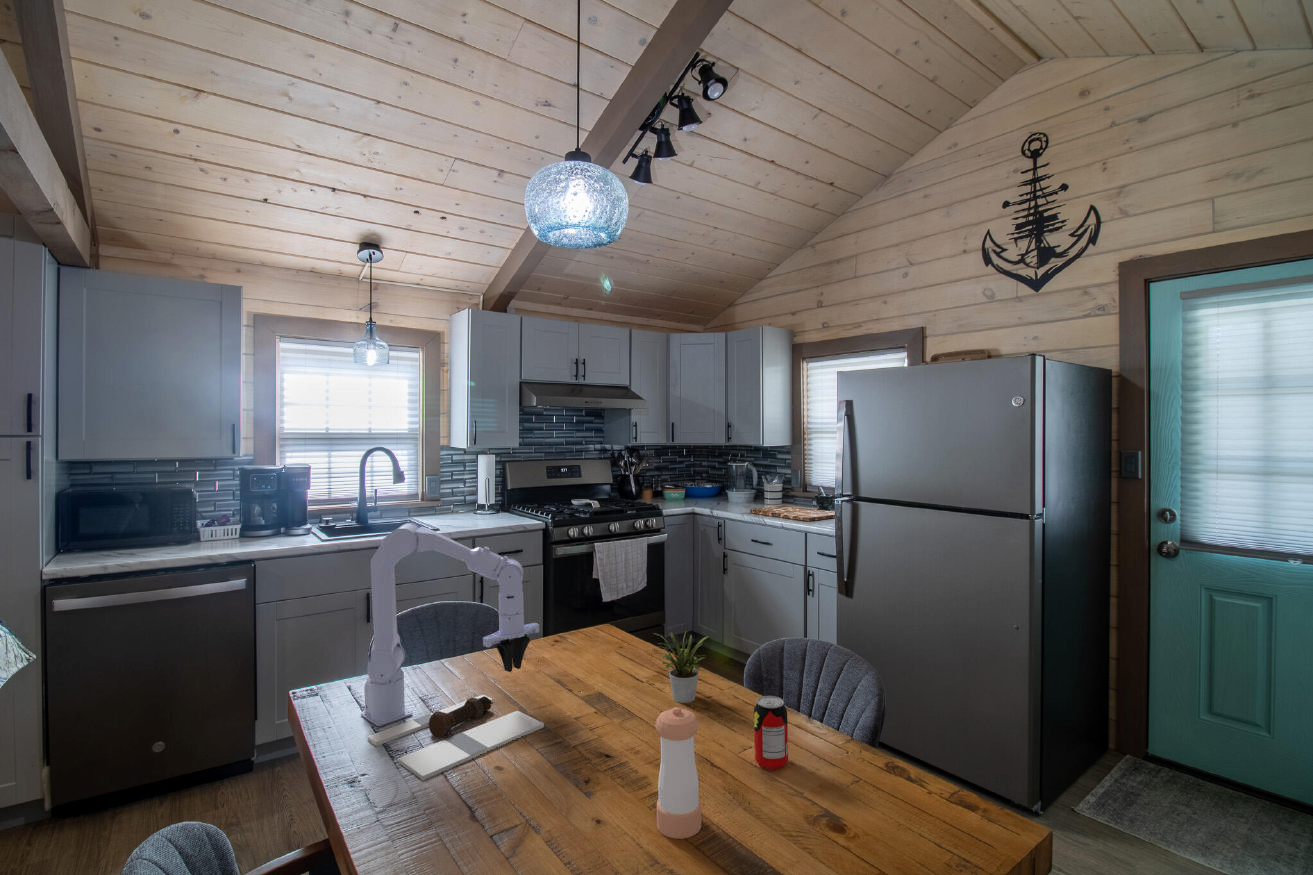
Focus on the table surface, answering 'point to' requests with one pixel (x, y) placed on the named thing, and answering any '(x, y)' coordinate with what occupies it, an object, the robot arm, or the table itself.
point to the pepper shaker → (678, 775)
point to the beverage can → (770, 732)
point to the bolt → (457, 716)
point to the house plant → (683, 670)
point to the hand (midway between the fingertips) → (512, 669)
